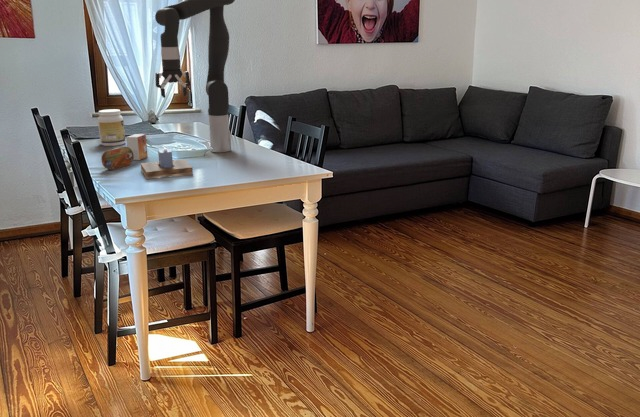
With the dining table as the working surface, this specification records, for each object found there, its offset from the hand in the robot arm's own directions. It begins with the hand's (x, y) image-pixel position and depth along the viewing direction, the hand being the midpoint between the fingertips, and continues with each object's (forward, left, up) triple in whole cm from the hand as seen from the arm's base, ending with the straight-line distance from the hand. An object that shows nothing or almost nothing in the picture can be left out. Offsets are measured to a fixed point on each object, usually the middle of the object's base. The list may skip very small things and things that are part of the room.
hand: (174, 96), depth 253 cm
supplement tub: (+23, -51, -28) cm, 63 cm away
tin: (+26, +2, -28) cm, 39 cm away
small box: (+16, -12, -28) cm, 35 cm away
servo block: (+9, +20, -27) cm, 35 cm away
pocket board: (+9, +20, -28) cm, 36 cm away
